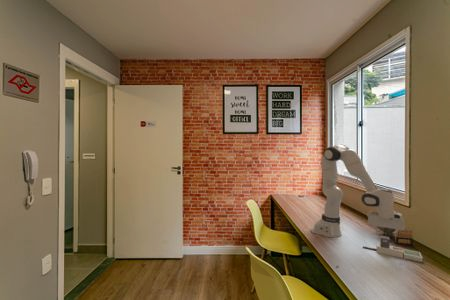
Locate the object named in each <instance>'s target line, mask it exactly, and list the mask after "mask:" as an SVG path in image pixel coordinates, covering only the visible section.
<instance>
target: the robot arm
mask: <svg viewBox="0 0 450 300" xmlns="http://www.w3.org/2000/svg"><path fill="white" fill-rule="evenodd" d="M338 161H341V162H342V163H343V165H344V166H345V169H346V170H347V172H348V173H349V175H351V176H352V177H355V178H357V179H359V180H360V182H361V183H362V185H363V187H364V188H365V190H366V192H365V193H363V194H362V195H361V198H360V199H361V202H362V204H363V205H365V206H366V207H373V208H374V207H377V211H368V212H367V215H366V216H367V218H368V219H367V224H368V226H372V227H373V228H374V230H375V232H376V234H377V233H378V234H379V233H380V232H379V231H380V229H378V227H385V228H392V229H395V230H396V231H395V232H393V233H392V234H393V236H394V237H395V236H396V233H397V232H398V233H399V230H401V231H402V230H405V228H406V224H405V220H404V219H403V214H402V213H401V212H398V211H395V210H394V203H395V200H394V194H393V192H392V190H390V189H387V188H382V187H381V188H377V187H376V185H375V183H374V181H373V180H372V178H371V176H370V174H369V173H368V171H367V170H366V167H365V165H364V164H363V163H364V162H362V160H361V158H360V156H359V155H358V153H357V152H356V151H355V150H354V149H351V148H349V147H348V146H347V145H345V144H337V145H332V146H329V147H327V148H325V149H324V151H323V156H322V157H321V164H320V165H321V173H322V174H321V175H322V188H321V189H322V193H323V195H324V196H325V197H326V201H325V204H324V210H323V211H324V212H323V213H322V214H321V219H319V220H317V221H316V222H314V225H313V226H312V227H311V230H310V231H311V233H312V234H316V235H320V236H324V237H328V238H336V237H337V238H338V237H341V236H342V232H341V231H342V230H341V226H340V224H341V216H340V213H341V212H340V210H341V209H340V208H341V203H342V200H343V198H344V192H343V190H342V189H341V188H340V187H338V178H339V174H338V167H337V162H338ZM377 226H378V227H377Z"/></svg>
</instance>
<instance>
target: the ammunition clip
mask: <svg viewBox="0 0 450 300" xmlns="http://www.w3.org/2000/svg"><path fill="white" fill-rule="evenodd" d="M394 237H395V239H394V244H396V245H402V246H403V245H404V246H411V245H412V247H414V238H413V229H412V228H410V229H409V227H408V228H406V227H405V229H404V230H399V229H398V232H397V233H396V236H395V235H394Z"/></svg>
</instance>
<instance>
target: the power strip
mask: <svg viewBox="0 0 450 300" xmlns="http://www.w3.org/2000/svg"><path fill="white" fill-rule="evenodd" d="M375 247H376V248H373V247H369V246H364V245H363V246H362V249H367V250H371V251H376V253H378V254H382V255H383V254H384V255H387V256H392V257H398V258H401V259H404V257H403V250H402V249H403V247H400V246H398V247H397V246H393V245H390V246H389V248H384V247H381V246H380V243H378V242H376V246H375Z"/></svg>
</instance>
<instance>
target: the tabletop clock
mask: <svg viewBox="0 0 450 300" xmlns="http://www.w3.org/2000/svg"><path fill="white" fill-rule="evenodd" d="M377 229H378V230H379V231H381V232H383V233H382V236H386V234H391V236H392V239H394V240H395V235H393V232H395V231H396V230H395V229H392V228H385V227H378V226H377Z"/></svg>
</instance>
